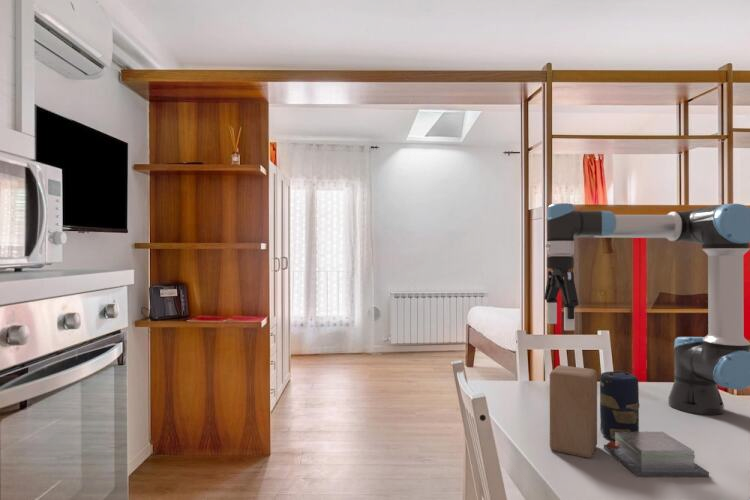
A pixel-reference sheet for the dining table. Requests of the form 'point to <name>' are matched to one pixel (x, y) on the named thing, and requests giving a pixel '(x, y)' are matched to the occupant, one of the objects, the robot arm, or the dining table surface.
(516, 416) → the dining table surface
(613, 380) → the canister
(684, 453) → the stand
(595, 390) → the block
